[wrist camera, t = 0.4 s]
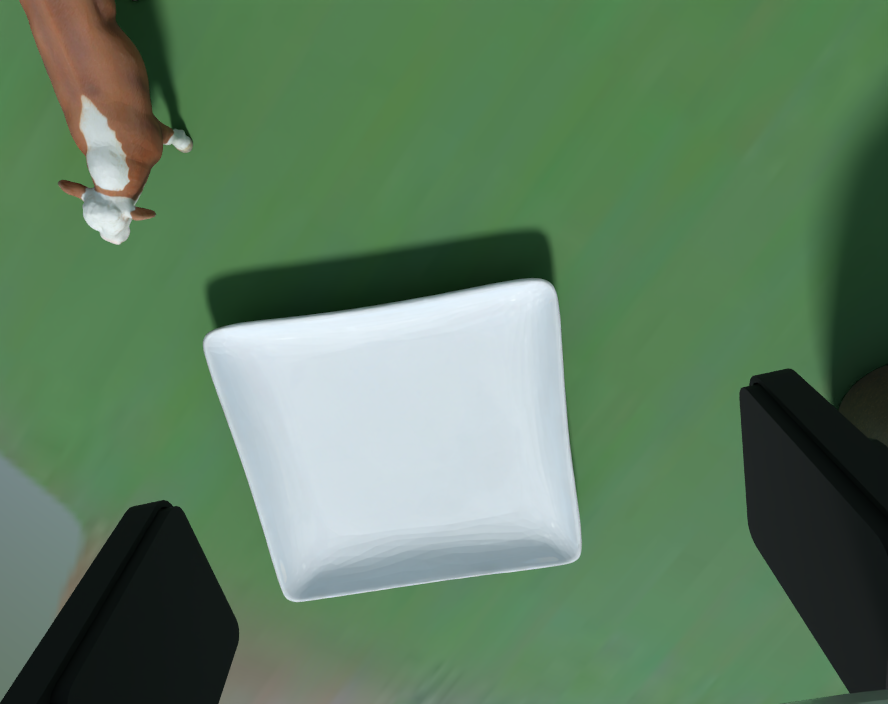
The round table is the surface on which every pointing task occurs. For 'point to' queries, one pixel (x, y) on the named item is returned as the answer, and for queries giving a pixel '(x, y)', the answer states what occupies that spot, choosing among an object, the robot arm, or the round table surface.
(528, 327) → the salad plate
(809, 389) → the robot arm
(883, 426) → the plant pot
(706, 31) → the round table surface
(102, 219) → the bull figurine
